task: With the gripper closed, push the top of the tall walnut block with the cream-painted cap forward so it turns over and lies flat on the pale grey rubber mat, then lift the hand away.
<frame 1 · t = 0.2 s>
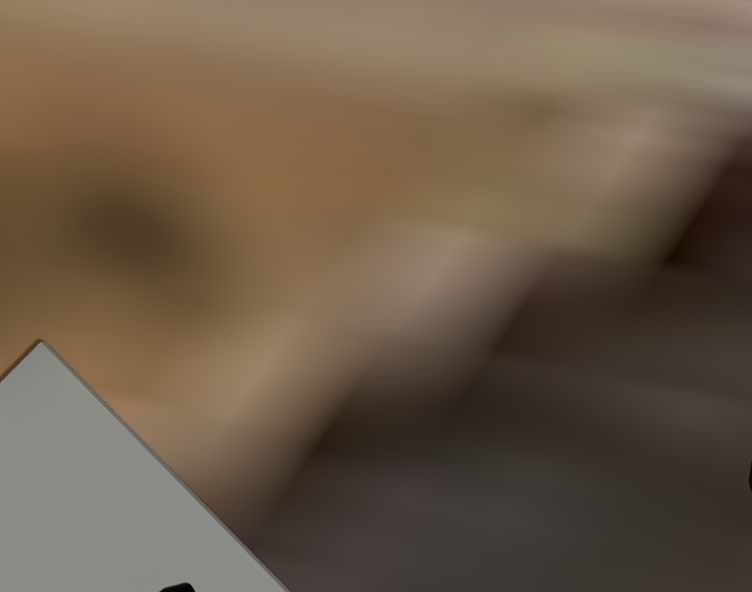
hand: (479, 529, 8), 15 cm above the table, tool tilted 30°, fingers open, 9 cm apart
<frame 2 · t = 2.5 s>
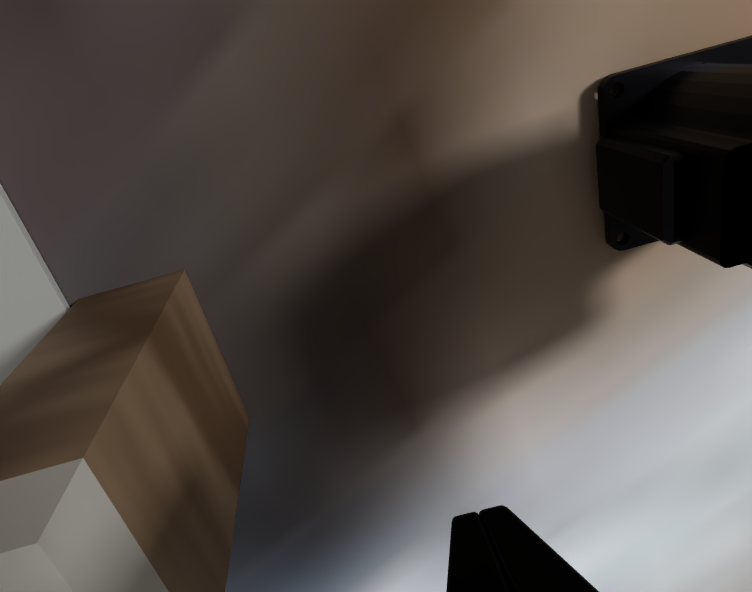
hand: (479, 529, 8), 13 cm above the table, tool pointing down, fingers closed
walnut block: (170, 362, 21), on the table
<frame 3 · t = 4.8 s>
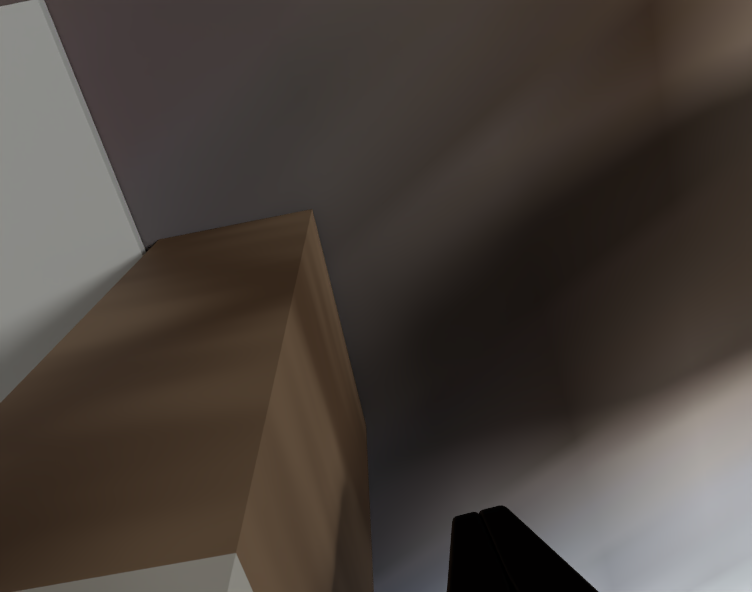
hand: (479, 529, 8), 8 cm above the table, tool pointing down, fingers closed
walnut block: (272, 341, 15), on the table
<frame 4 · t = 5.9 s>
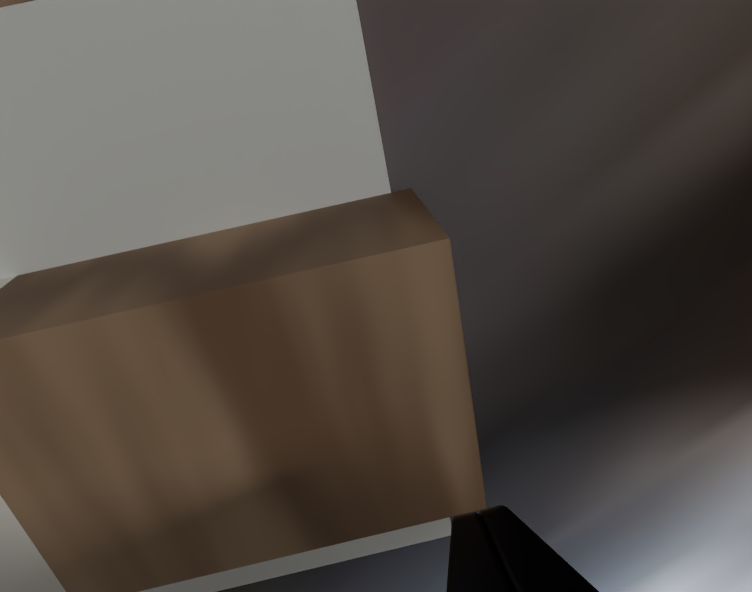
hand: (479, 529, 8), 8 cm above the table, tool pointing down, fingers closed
walnut block: (448, 344, 13), point 2 cm above the table, tilted 90°, touching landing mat
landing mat: (123, 373, 15), on the table
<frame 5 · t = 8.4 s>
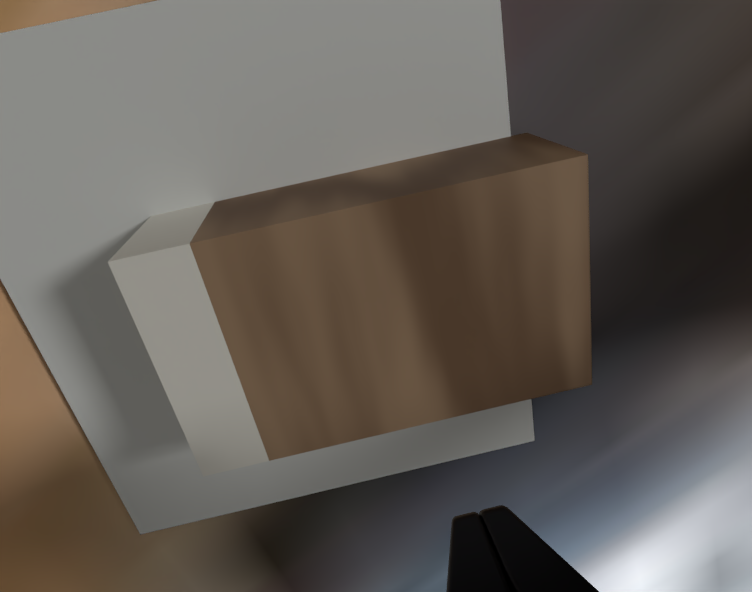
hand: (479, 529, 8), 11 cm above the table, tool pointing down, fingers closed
walnut block: (558, 256, 16), point 2 cm above the table, tilted 90°, touching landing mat
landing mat: (282, 289, 18), on the table
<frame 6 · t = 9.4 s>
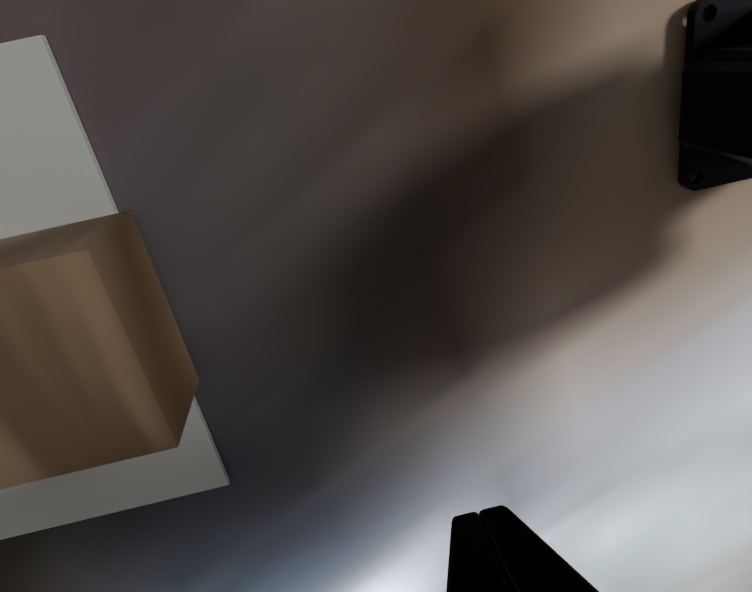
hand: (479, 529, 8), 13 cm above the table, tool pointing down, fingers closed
walnut block: (153, 326, 18), point 2 cm above the table, tilted 90°, touching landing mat
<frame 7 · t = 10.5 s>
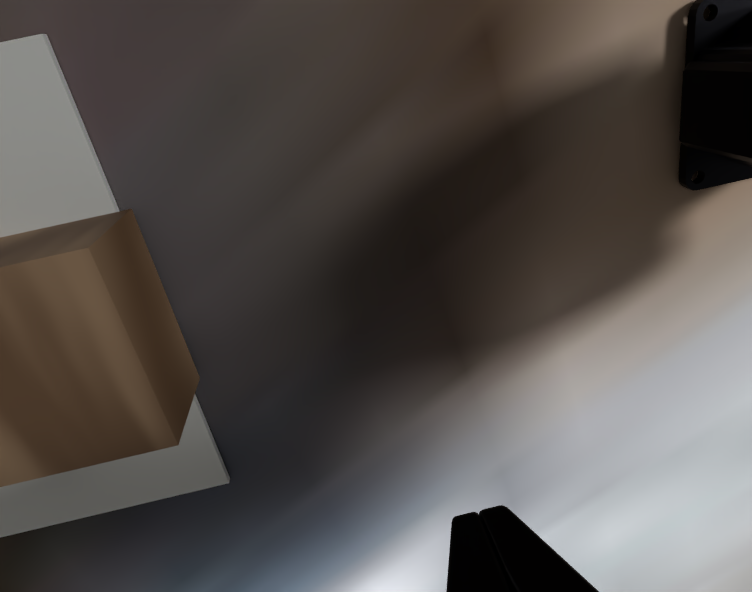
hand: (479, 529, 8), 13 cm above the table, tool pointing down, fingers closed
walnut block: (154, 324, 18), point 2 cm above the table, tilted 90°, touching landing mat
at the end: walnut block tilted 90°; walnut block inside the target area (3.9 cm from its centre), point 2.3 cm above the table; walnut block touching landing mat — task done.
